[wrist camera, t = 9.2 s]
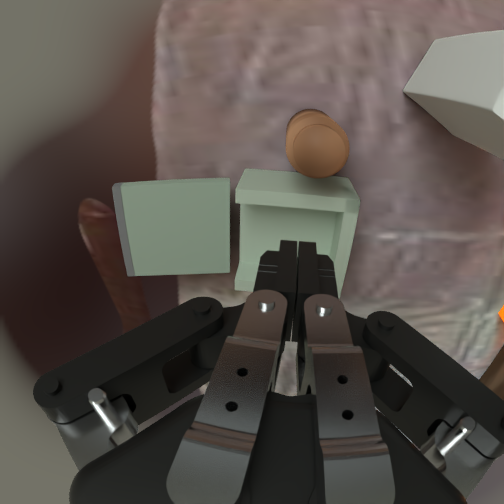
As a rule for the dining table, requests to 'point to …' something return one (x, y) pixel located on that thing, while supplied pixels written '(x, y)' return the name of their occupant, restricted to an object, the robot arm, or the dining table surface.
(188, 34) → the dining table surface
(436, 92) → the milk carton
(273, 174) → the crate
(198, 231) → the panel
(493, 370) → the planter frame
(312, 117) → the brown ridged cylinder
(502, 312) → the orange juice
